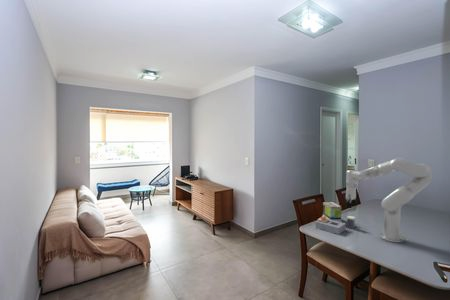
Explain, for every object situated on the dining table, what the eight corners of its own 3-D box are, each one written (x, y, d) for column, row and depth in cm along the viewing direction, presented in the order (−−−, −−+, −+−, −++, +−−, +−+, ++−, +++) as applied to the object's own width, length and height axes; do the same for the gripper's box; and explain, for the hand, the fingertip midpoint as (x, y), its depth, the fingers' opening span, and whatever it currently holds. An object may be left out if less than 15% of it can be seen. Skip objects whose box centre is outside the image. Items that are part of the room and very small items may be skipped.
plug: (354, 228, 181) (355, 217, 180) (353, 229, 178) (353, 218, 177) (348, 226, 184) (349, 215, 184) (346, 228, 181) (346, 217, 181)
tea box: (341, 223, 191) (342, 206, 191) (330, 223, 191) (330, 206, 191) (333, 217, 207) (333, 201, 206) (322, 217, 206) (322, 201, 206)
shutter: (329, 220, 184) (329, 216, 184) (325, 222, 179) (325, 218, 179) (321, 218, 189) (321, 214, 189) (317, 220, 185) (317, 216, 184)
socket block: (345, 229, 178) (345, 223, 178) (338, 234, 169) (338, 228, 169) (323, 223, 192) (323, 217, 191) (315, 227, 182) (315, 221, 182)
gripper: (350, 183, 188) (349, 203, 189) (342, 186, 176) (342, 207, 177) (360, 184, 182) (359, 205, 183) (352, 187, 171) (352, 209, 172)
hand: (351, 206), depth 180 cm, fingers open, 9 cm apart
